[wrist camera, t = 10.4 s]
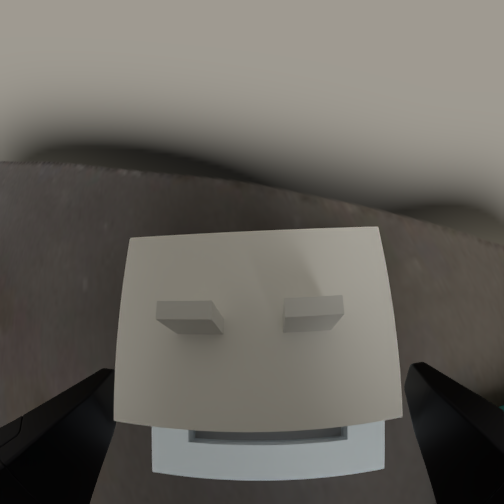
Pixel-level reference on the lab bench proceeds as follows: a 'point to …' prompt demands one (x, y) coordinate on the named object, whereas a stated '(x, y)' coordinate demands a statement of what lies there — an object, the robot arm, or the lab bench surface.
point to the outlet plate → (269, 453)
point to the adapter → (257, 332)
